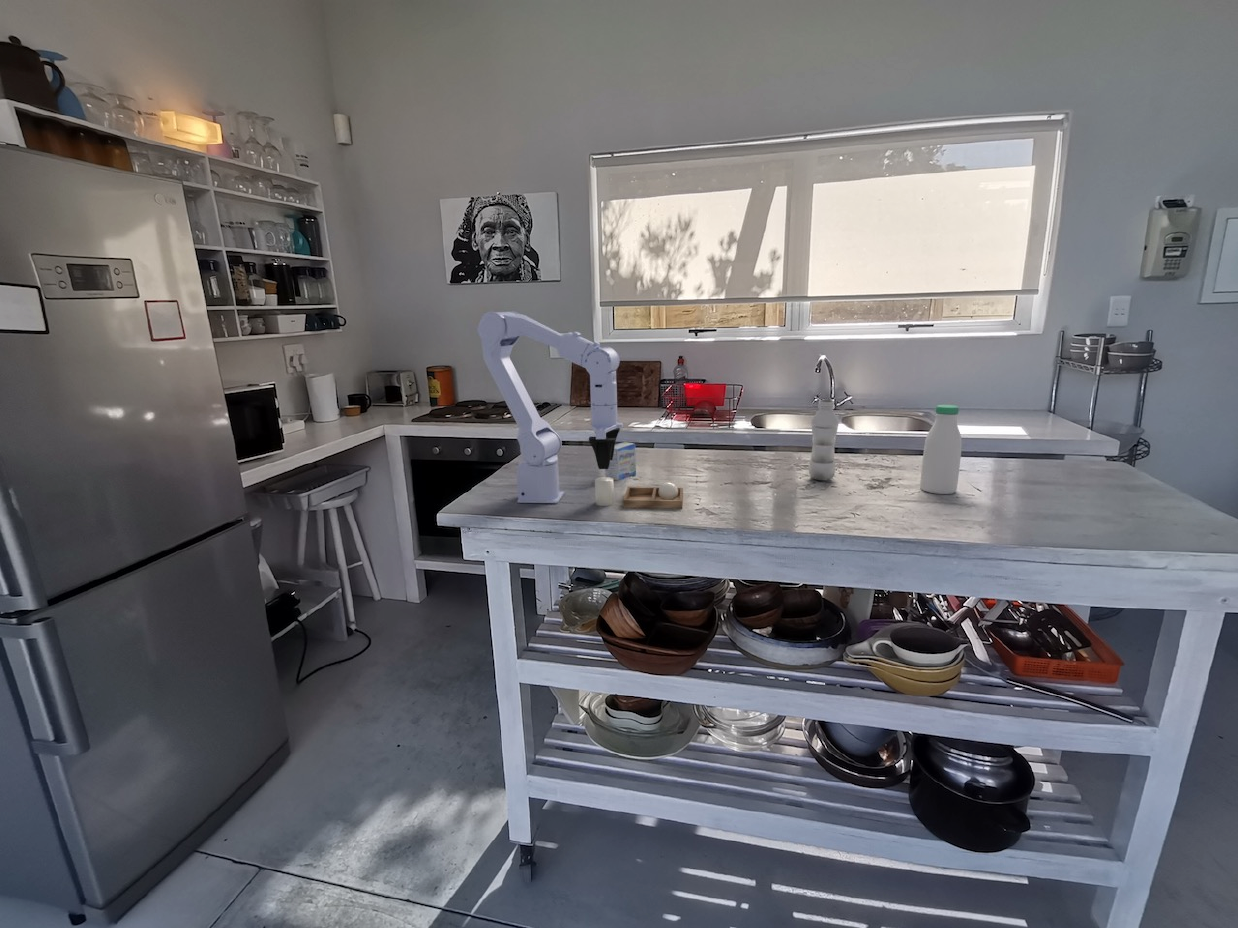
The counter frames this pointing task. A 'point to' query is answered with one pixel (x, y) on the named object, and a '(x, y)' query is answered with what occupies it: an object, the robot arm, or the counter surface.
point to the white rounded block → (604, 491)
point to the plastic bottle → (823, 441)
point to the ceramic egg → (668, 491)
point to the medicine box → (622, 461)
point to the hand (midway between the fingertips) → (605, 464)
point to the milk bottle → (942, 453)
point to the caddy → (650, 498)
